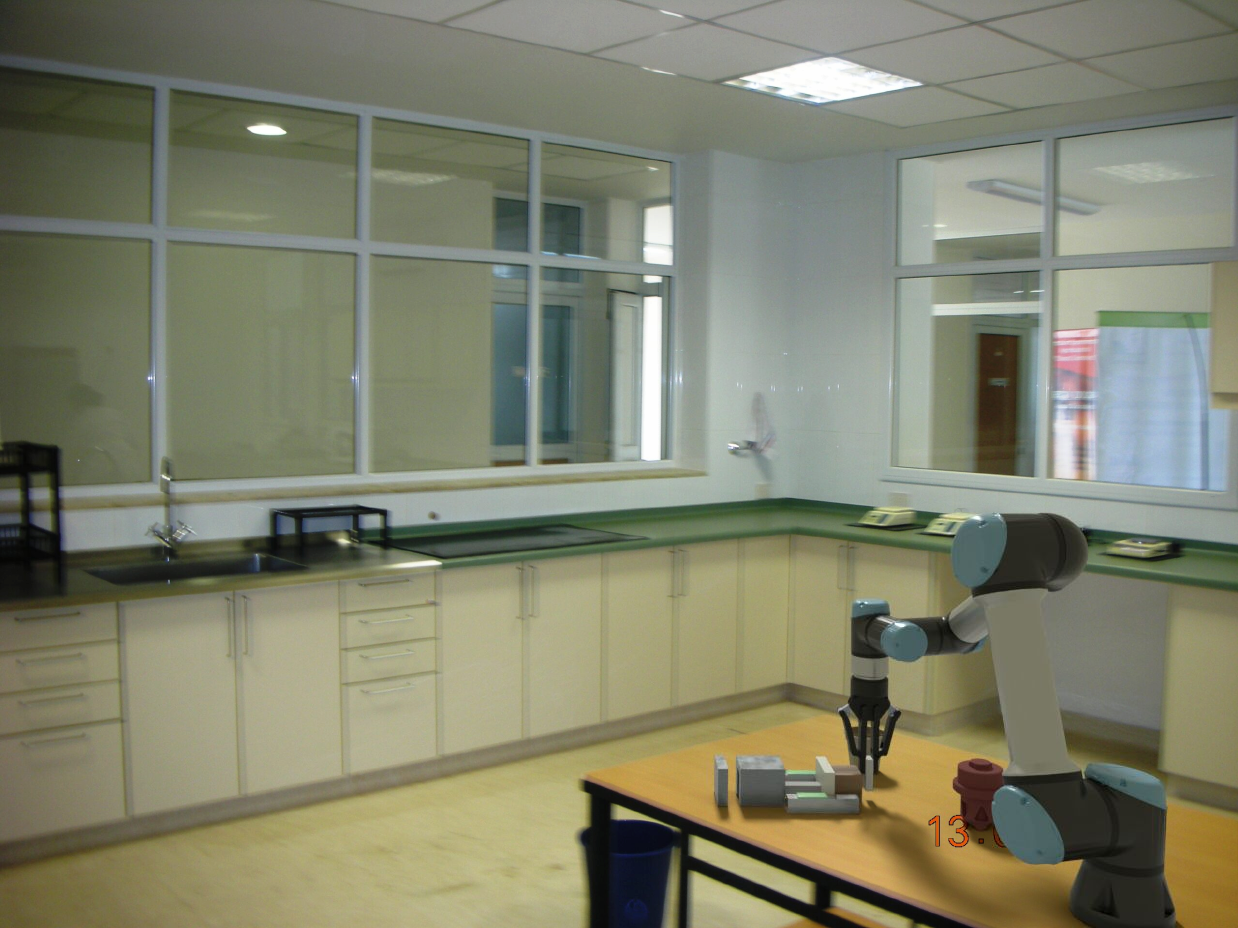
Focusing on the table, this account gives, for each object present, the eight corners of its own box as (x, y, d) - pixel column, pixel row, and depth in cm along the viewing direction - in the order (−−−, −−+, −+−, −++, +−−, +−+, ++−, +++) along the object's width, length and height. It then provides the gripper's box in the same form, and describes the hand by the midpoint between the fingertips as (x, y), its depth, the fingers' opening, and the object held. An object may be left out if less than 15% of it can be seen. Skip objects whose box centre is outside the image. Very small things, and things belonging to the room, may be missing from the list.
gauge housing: (858, 813, 210) (859, 775, 209) (719, 812, 210) (719, 774, 209) (842, 785, 226) (842, 750, 225) (712, 784, 226) (712, 749, 225)
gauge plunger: (834, 807, 213) (834, 772, 212) (764, 806, 213) (764, 772, 212) (824, 789, 223) (825, 756, 222) (757, 788, 223) (758, 756, 222)
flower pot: (833, 766, 238) (834, 728, 238) (867, 760, 242) (868, 723, 241) (860, 779, 229) (860, 740, 229) (895, 773, 233) (895, 734, 233)
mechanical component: (1002, 816, 209) (1010, 836, 199) (949, 812, 211) (954, 832, 201) (1003, 754, 208) (1012, 771, 198) (950, 751, 210) (956, 767, 200)
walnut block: (861, 804, 215) (862, 774, 215) (832, 804, 215) (832, 774, 215) (855, 793, 221) (855, 765, 221) (826, 793, 221) (826, 765, 221)
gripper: (896, 670, 220) (894, 782, 222) (833, 670, 220) (832, 782, 222) (906, 679, 213) (904, 795, 214) (841, 679, 213) (839, 795, 214)
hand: (867, 788), depth 218 cm, fingers closed
